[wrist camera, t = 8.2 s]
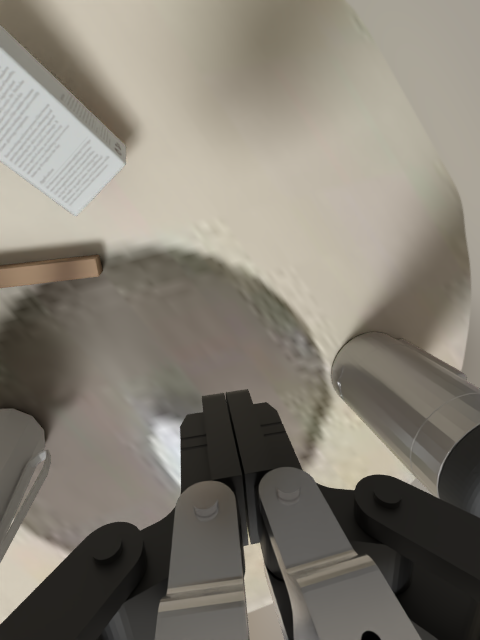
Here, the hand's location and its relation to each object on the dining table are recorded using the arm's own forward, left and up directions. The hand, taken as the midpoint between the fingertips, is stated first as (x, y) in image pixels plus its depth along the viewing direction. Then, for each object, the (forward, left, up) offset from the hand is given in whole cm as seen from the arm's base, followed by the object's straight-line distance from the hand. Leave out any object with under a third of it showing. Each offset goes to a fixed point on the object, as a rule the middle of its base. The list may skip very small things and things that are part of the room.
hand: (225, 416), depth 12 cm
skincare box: (+5, -8, -23) cm, 24 cm away
